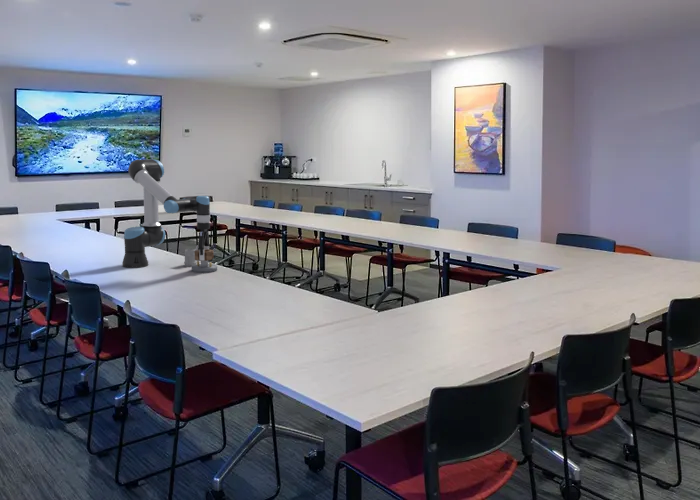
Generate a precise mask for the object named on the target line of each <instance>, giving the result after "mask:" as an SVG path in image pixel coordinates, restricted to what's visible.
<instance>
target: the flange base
mask: <svg viewBox="0 0 700 500" xmlns="http://www.w3.org/2000/svg"><path fill="white" fill-rule="evenodd" d="M196 262H197V263H196V265H193V266H191V272H193V273H201V274H204V273H205V274H206V273H207V274H208V273H214V272H217V271H218V265H217V264H214V263H212V262H211V261H210V262H209V260H208V261H206V260H205V261H196Z"/></svg>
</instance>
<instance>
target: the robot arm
mask: <svg viewBox="0 0 700 500" xmlns="http://www.w3.org/2000/svg"><path fill="white" fill-rule="evenodd" d="M128 175H129V177H130V178H131V179H132V181H134V182H135V183H136V184H140V185H141V186H142V187H143V216H144V217H143V218H144V221H143V223H142V224H141V226H133V227H129V228H126V229H125V230H124V235H123V238H124V239H123V240H124V241H123V242H124V256H123V260H122V261H121V263H122V264H121V265H122V267H123V268H131V269H132V268H144V267H148V266H149V260H148V257H147V254H146V248H149V247H155V246H159V245H161V244H162V243H163V242H164V241H165V240H166V239H165V238H166V231H165V229H164V228H163V226H162V224H161V223H160V221H159V202H160V204H162V205H163V209H164V211H165V213H167V214H177V213H185V212H187V213H188V212H196V228H197V230H200V231H199V232H198V244H197V245H198V250H199V256H200V260H202V261H204V249H209V250H210V248H209V247H210V246H211V244H210V235H209V230H210V229H211V223H210V221H211V218H212V217H211V216H210V215H211V214H210V209H211V207H210V205H211V203H210V196H208V195H197V196H196V198H190V197H186V198H182V199H178V198H176V197H175V196H174V195H173V194H171V192H169V191H168V190H167V189H166V188H165V187H163V186H162V185H161V184H160V183H161V178H163V176H164V175H165V168H164V166H163V163H162V162H161V161H160V160H158V159H151V158H150V159H149V158H147V159H134V160H133V161H131V162H130V164H129V166H128Z"/></svg>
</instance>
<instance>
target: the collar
mask: <svg viewBox="0 0 700 500" xmlns="http://www.w3.org/2000/svg"><path fill="white" fill-rule="evenodd" d="M214 251H215V249H210V248H209V249H204V261H205V260H206V261H208V262H209V261H212V260H213V259H214V258H215V257H214V253H215V252H214ZM194 253H195V260H199V262H201V261H202V260H200V256H199V250H195V251H194Z"/></svg>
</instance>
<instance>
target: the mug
mask: <svg viewBox="0 0 700 500" xmlns="http://www.w3.org/2000/svg"><path fill="white" fill-rule="evenodd" d="M198 245H199V244H197V245H196V246H195V248H186V249H184V255H183V256H184V263H183V264H184V267H192V266H193V265H197V261H199V260H195V253H194V251H195V250H198ZM199 262H200V261H199Z"/></svg>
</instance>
